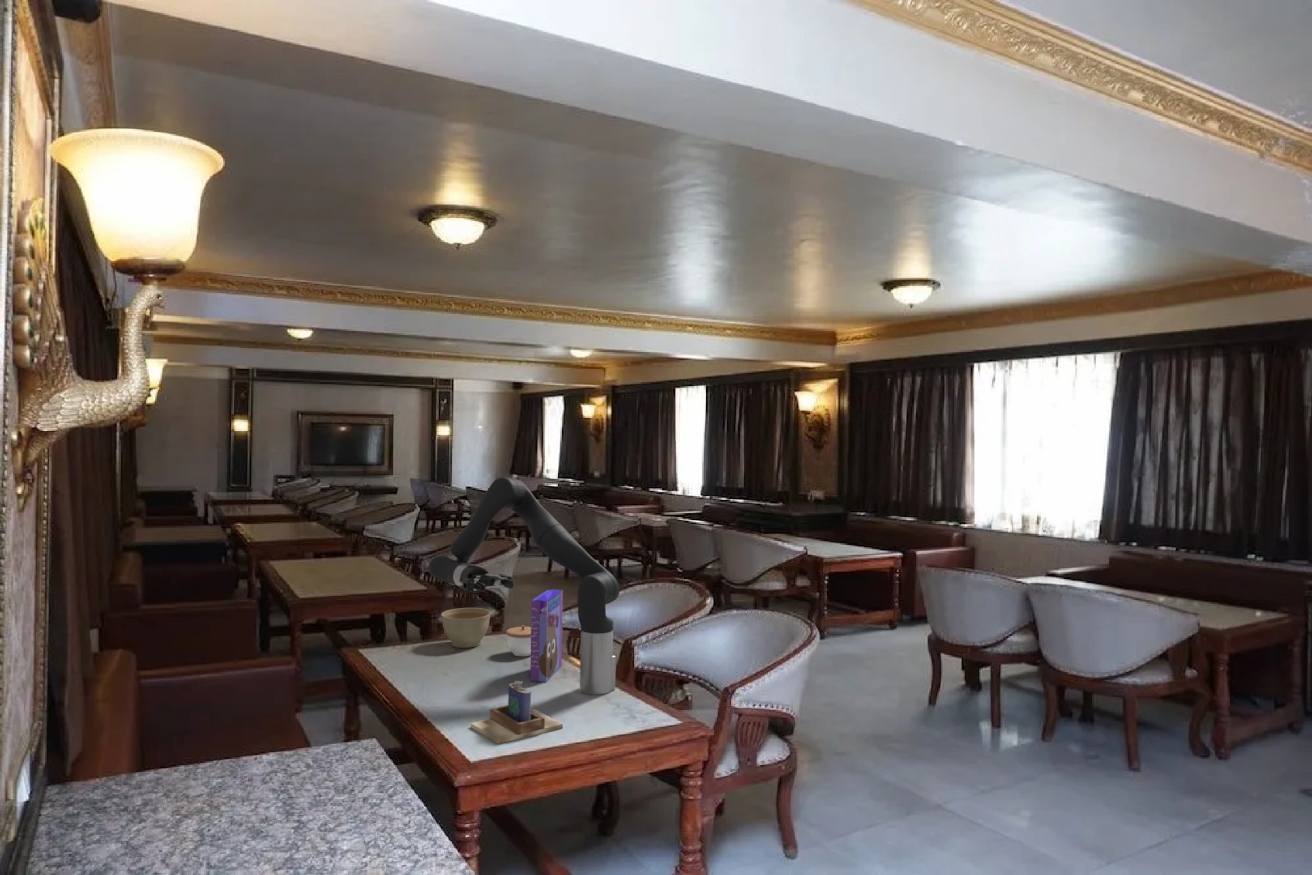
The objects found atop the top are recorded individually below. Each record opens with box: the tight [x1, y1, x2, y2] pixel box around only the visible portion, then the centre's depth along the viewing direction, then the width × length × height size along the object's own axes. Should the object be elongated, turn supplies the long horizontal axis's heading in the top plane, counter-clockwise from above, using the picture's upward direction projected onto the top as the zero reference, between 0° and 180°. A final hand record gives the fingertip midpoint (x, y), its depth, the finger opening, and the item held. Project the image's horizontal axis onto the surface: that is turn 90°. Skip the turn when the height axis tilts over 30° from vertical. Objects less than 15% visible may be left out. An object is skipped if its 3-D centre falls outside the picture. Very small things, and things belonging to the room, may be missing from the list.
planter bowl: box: [441, 607, 491, 649], centre depth 291 cm, size 16×16×11 cm
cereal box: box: [529, 588, 564, 683], centre depth 259 cm, size 17×5×24 cm, turn 171°
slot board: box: [470, 704, 563, 745], centre depth 213 cm, size 18×14×4 cm
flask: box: [507, 680, 532, 723], centre depth 213 cm, size 9×3×11 cm, turn 38°
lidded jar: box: [506, 624, 531, 657], centre depth 281 cm, size 11×11×9 cm
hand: (498, 586), depth 239 cm, fingers open, 8 cm apart
